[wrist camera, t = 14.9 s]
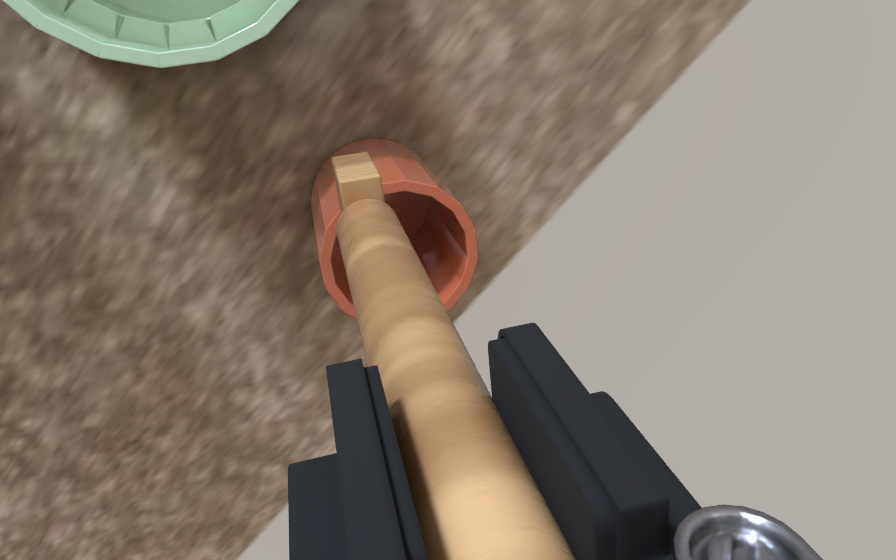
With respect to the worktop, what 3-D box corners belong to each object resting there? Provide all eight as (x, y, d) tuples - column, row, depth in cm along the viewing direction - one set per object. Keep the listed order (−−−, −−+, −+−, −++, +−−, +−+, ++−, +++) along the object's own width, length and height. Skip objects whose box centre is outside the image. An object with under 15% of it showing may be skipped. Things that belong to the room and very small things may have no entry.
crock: (427, 128, 36) (470, 168, 28) (441, 245, 39) (484, 311, 31) (299, 149, 34) (305, 197, 26) (324, 268, 37) (337, 343, 29)
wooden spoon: (320, 157, 20) (471, 759, 4) (377, 149, 21) (708, 683, 5) (337, 245, 22) (499, 957, 6) (390, 235, 22) (684, 885, 6)
